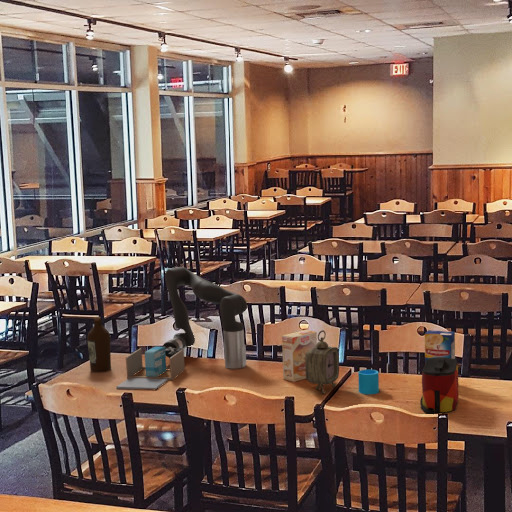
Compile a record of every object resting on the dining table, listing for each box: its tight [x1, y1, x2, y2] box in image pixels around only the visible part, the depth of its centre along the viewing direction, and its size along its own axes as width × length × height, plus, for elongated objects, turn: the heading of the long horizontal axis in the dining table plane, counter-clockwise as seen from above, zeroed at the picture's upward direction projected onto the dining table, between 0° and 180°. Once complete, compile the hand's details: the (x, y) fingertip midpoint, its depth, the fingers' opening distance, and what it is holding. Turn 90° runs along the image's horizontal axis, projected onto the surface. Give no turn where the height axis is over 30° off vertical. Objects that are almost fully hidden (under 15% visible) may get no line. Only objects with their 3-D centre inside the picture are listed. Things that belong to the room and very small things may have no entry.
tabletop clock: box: [305, 329, 340, 395], centre depth 358 cm, size 14×9×25 cm, turn 151°
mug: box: [357, 369, 380, 395], centre depth 356 cm, size 12×8×8 cm
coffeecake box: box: [281, 329, 318, 382], centre depth 379 cm, size 15×7×20 cm, turn 131°
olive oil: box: [86, 316, 112, 373], centre depth 406 cm, size 11×11×25 cm
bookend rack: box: [125, 347, 186, 381], centre depth 394 cm, size 21×17×10 cm
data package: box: [144, 346, 167, 377], centre depth 393 cm, size 12×4×12 cm, turn 160°
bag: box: [420, 357, 460, 415], centre depth 332 cm, size 30×14×16 cm, turn 163°
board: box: [116, 378, 168, 390], centre depth 378 cm, size 18×14×1 cm
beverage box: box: [424, 329, 456, 364], centre depth 358 cm, size 7×11×22 cm, turn 65°
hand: (160, 355), depth 400 cm, fingers open, 8 cm apart
